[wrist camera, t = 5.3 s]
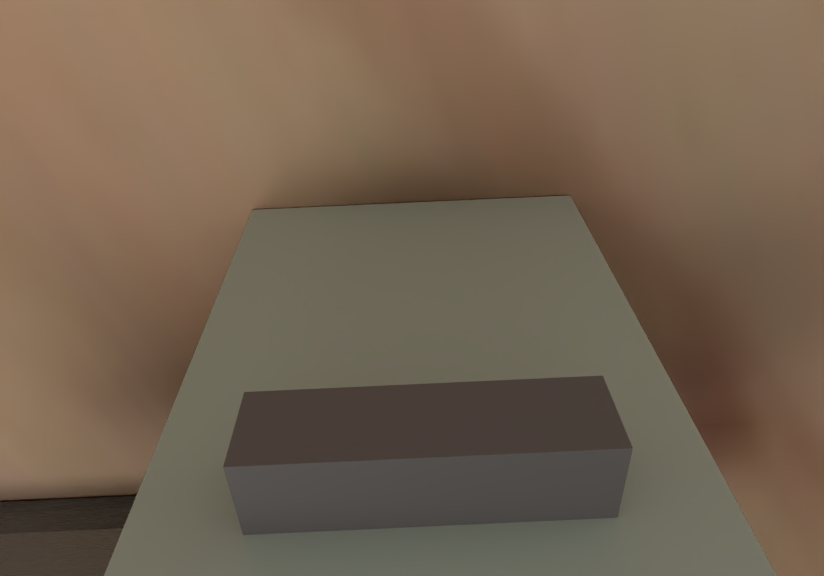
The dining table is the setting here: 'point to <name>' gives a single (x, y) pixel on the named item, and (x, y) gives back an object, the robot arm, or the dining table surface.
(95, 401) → the dining table surface
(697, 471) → the cabinet
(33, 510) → the dark grey flat slab
